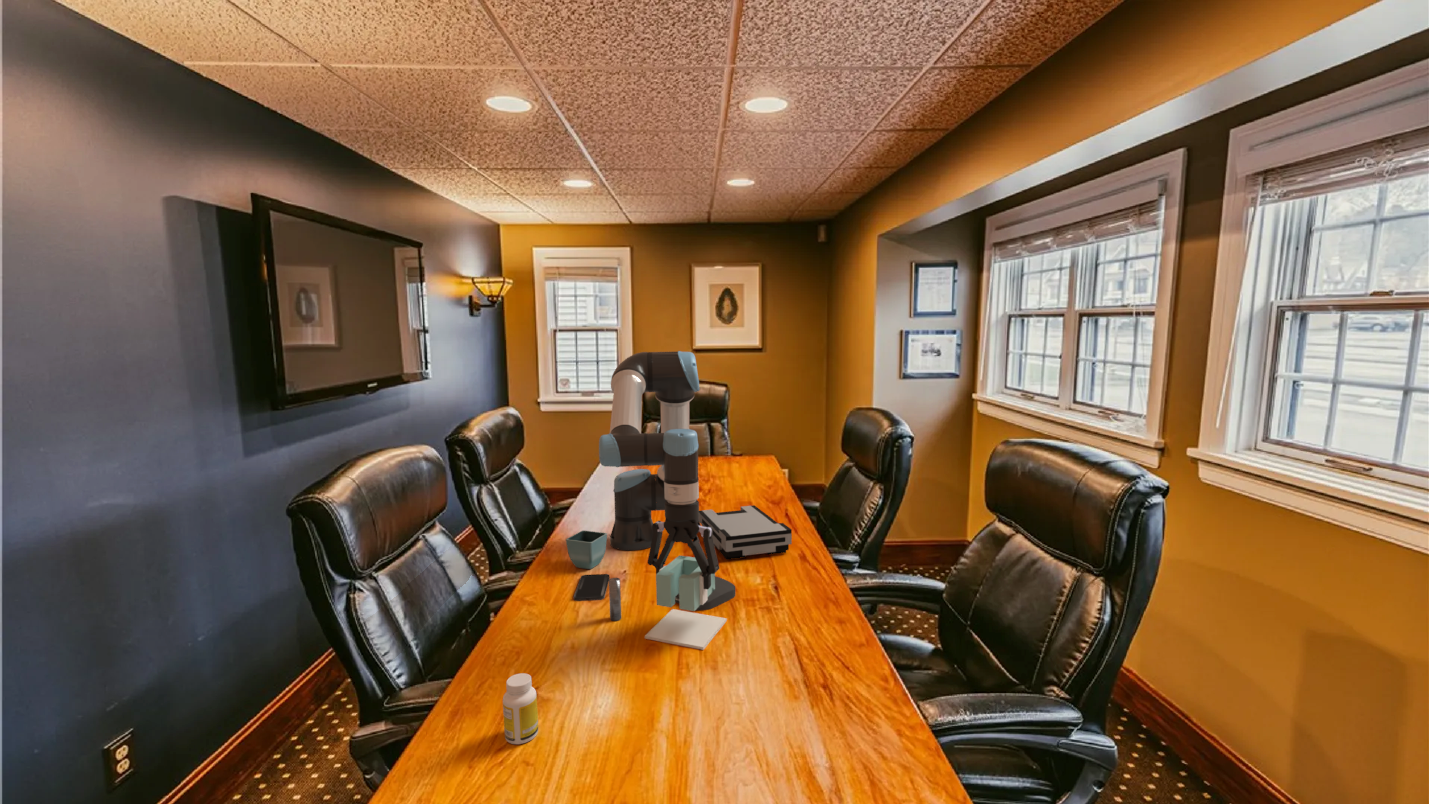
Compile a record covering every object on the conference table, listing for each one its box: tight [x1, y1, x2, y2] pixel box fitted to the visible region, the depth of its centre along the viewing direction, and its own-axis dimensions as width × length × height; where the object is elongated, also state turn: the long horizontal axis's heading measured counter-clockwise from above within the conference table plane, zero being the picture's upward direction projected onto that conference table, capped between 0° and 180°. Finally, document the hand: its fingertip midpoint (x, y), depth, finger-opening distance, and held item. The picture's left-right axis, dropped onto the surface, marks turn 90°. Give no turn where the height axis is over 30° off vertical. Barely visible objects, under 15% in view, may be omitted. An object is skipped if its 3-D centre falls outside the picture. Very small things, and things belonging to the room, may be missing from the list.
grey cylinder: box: [608, 577, 622, 622], centre depth 142 cm, size 3×3×10 cm
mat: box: [644, 608, 728, 651], centre depth 137 cm, size 14×14×1 cm
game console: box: [699, 504, 793, 561], centre depth 195 cm, size 21×32×8 cm, turn 17°
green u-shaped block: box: [655, 555, 716, 612], centre depth 136 cm, size 12×9×7 cm
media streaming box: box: [675, 575, 736, 611], centre depth 155 cm, size 15×15×3 cm
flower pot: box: [565, 530, 608, 570], centre depth 175 cm, size 9×9×9 cm
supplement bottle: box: [502, 672, 539, 745], centre depth 101 cm, size 5×5×10 cm
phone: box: [573, 573, 611, 602], centre depth 160 cm, size 8×1×15 cm
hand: (683, 598), depth 135 cm, fingers closed on green u-shaped block, 9 cm apart
